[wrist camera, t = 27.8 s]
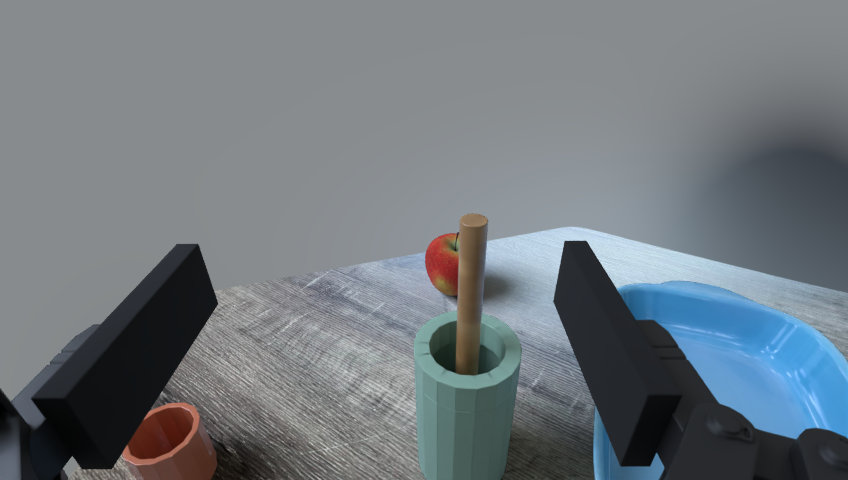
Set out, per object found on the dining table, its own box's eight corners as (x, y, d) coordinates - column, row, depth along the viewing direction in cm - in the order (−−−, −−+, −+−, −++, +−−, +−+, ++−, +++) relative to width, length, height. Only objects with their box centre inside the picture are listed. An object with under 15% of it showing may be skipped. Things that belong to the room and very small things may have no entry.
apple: (464, 268, 66) (467, 211, 61) (492, 298, 60) (497, 236, 55) (416, 281, 64) (415, 222, 58) (440, 314, 57) (440, 251, 52)
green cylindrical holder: (400, 465, 39) (391, 356, 32) (448, 402, 45) (450, 298, 38) (478, 520, 35) (489, 408, 28) (521, 443, 41) (538, 334, 34)
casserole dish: (1031, 857, 21) (1155, 837, 18) (567, 644, 28) (586, 598, 25) (791, 349, 51) (818, 302, 47) (592, 307, 58) (602, 263, 54)
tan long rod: (435, 452, 39) (434, 223, 27) (456, 424, 42) (464, 202, 29) (469, 474, 37) (485, 239, 25) (489, 443, 40) (512, 215, 28)
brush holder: (134, 481, 38) (107, 440, 35) (196, 432, 42) (177, 391, 39) (167, 520, 35) (141, 479, 32) (230, 464, 40) (213, 423, 36)
